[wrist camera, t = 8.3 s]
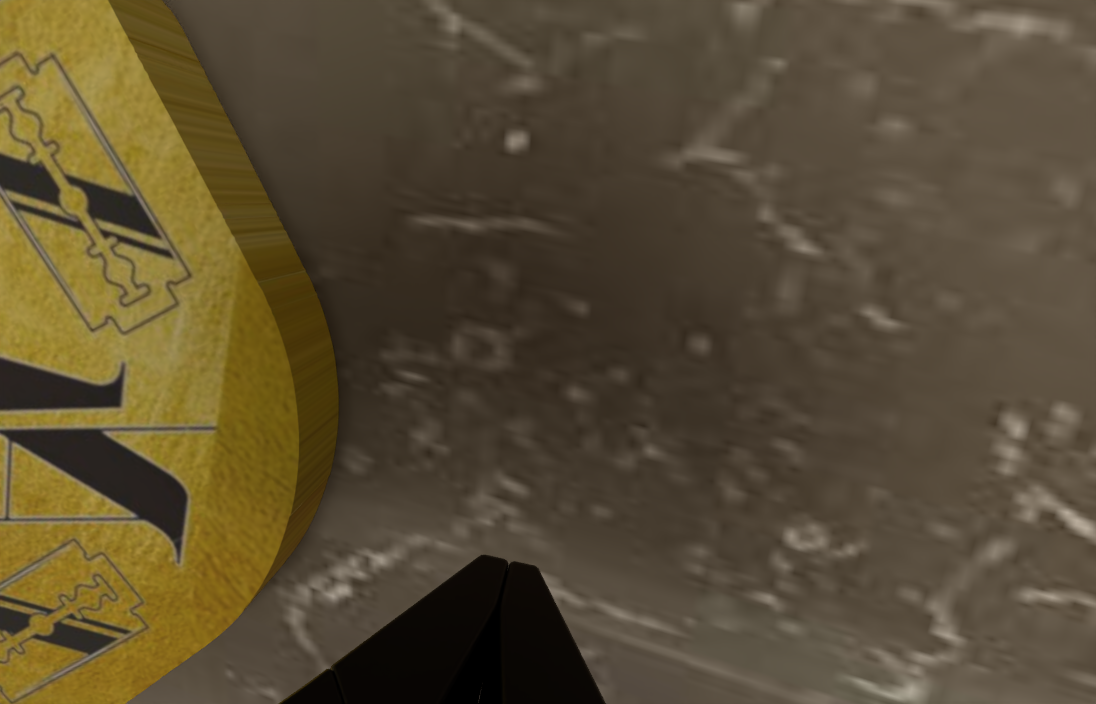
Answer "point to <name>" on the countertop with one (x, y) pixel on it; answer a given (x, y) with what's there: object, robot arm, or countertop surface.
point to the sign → (140, 358)
